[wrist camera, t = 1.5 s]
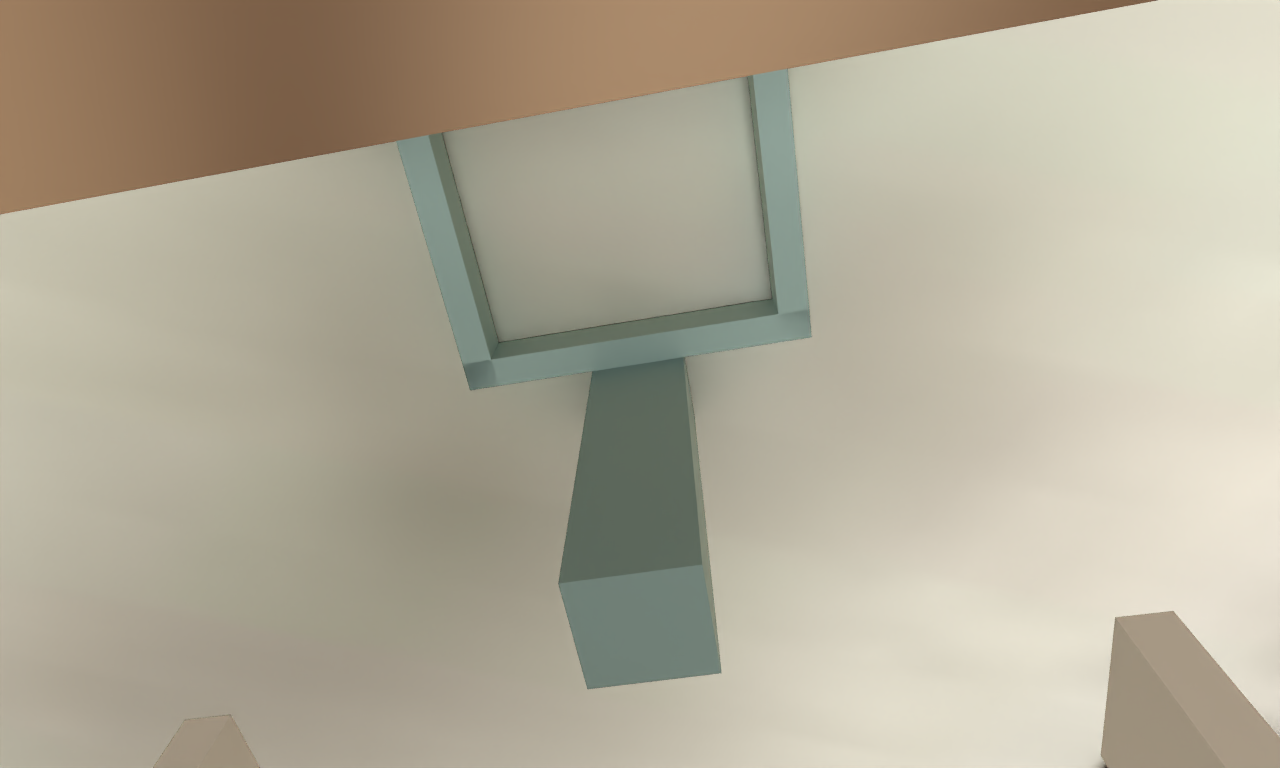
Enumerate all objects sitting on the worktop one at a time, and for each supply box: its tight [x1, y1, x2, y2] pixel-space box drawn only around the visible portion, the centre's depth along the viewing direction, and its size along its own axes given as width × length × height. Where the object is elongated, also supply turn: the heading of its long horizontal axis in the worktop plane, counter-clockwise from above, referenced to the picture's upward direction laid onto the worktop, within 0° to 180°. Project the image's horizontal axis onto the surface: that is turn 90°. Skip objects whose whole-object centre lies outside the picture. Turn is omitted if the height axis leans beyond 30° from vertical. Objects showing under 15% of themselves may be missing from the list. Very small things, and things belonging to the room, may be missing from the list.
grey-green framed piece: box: [396, 69, 812, 689], centre depth 14 cm, size 9×22×10 cm, turn 10°
